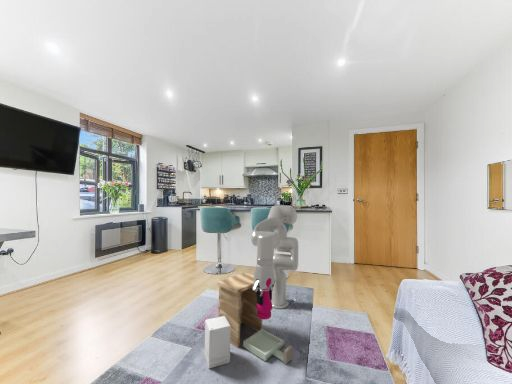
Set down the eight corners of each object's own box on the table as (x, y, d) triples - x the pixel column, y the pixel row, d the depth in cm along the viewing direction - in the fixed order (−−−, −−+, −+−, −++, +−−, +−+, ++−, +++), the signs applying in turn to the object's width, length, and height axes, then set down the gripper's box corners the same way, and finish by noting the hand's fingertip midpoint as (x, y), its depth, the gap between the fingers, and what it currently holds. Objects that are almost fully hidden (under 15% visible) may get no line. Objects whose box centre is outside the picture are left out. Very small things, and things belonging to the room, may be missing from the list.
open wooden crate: (244, 320, 124) (245, 272, 124) (263, 330, 114) (264, 279, 115) (216, 335, 109) (217, 281, 110) (236, 349, 100) (237, 290, 101)
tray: (261, 333, 111) (262, 323, 111) (297, 353, 98) (297, 342, 98) (243, 346, 101) (243, 335, 101) (279, 370, 88) (279, 357, 88)
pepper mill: (260, 321, 97) (261, 275, 98) (253, 313, 104) (254, 269, 104) (275, 318, 100) (275, 273, 101) (267, 310, 107) (268, 268, 107)
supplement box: (230, 363, 92) (231, 326, 92) (208, 369, 88) (209, 330, 88) (224, 349, 100) (225, 315, 100) (204, 354, 96) (204, 319, 97)
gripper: (270, 256, 111) (269, 293, 111) (246, 263, 99) (245, 305, 98) (282, 259, 106) (282, 298, 106) (258, 267, 94) (258, 311, 93)
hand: (264, 301), depth 102 cm, fingers closed on pepper mill, 5 cm apart
